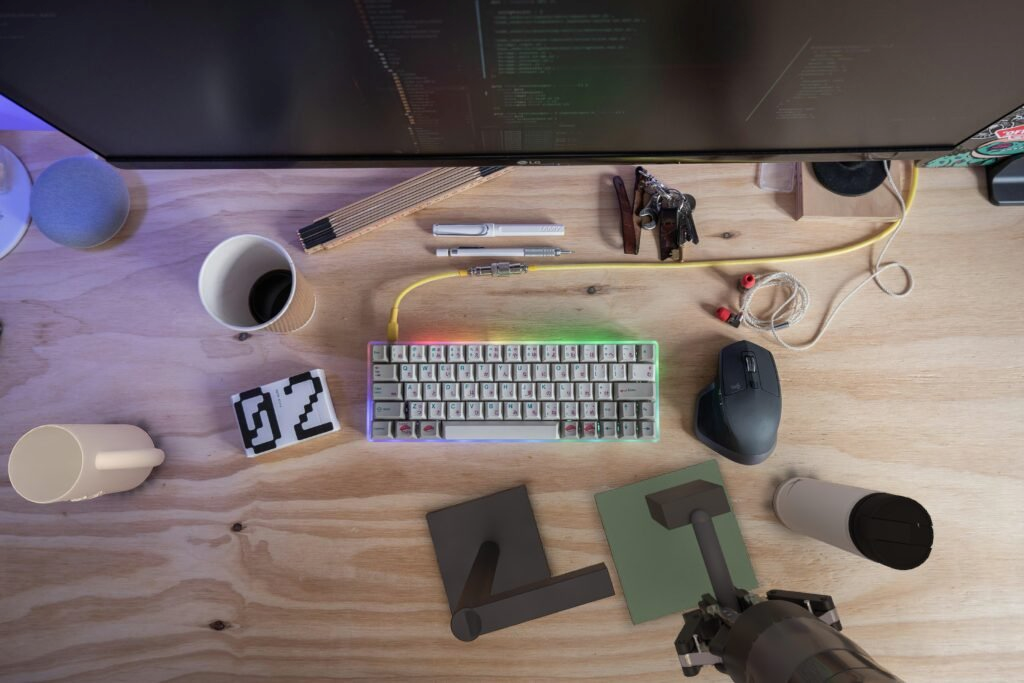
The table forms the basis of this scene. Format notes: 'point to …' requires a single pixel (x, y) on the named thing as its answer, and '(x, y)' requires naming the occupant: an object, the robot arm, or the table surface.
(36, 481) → the mug
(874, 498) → the travel mug
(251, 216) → the table surface
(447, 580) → the stand
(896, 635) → the table surface
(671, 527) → the square-ended dumbbell
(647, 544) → the desk mat
